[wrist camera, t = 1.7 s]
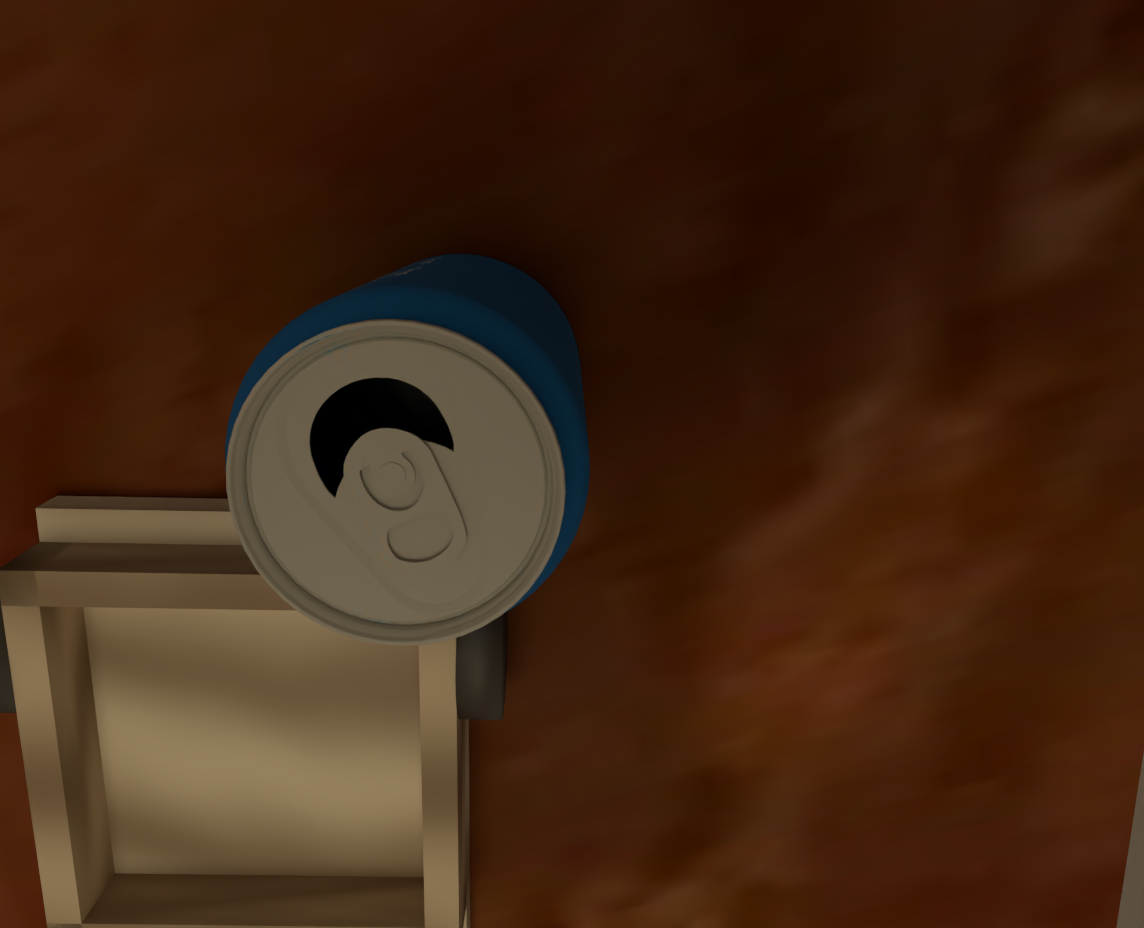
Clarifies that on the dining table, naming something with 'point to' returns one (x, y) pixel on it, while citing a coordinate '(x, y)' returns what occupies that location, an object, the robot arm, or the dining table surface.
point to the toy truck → (229, 735)
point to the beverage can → (412, 452)
